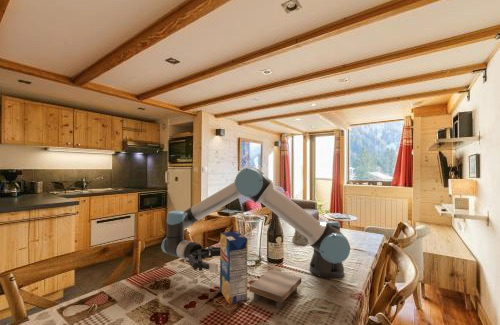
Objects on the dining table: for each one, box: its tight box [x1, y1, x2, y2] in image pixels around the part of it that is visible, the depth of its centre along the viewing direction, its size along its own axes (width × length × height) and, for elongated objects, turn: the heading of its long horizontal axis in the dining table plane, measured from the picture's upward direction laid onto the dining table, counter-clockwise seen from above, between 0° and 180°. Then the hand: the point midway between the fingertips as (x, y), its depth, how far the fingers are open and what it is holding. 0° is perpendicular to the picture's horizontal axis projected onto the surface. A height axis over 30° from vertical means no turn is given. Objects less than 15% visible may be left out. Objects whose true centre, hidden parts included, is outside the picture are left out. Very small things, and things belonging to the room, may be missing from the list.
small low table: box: [248, 268, 302, 310], centre depth 90 cm, size 17×13×5 cm
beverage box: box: [219, 230, 249, 305], centre depth 90 cm, size 7×11×22 cm, turn 23°
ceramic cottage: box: [292, 229, 309, 246], centre depth 156 cm, size 16×16×15 cm
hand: (229, 262), depth 91 cm, fingers open, 13 cm apart
